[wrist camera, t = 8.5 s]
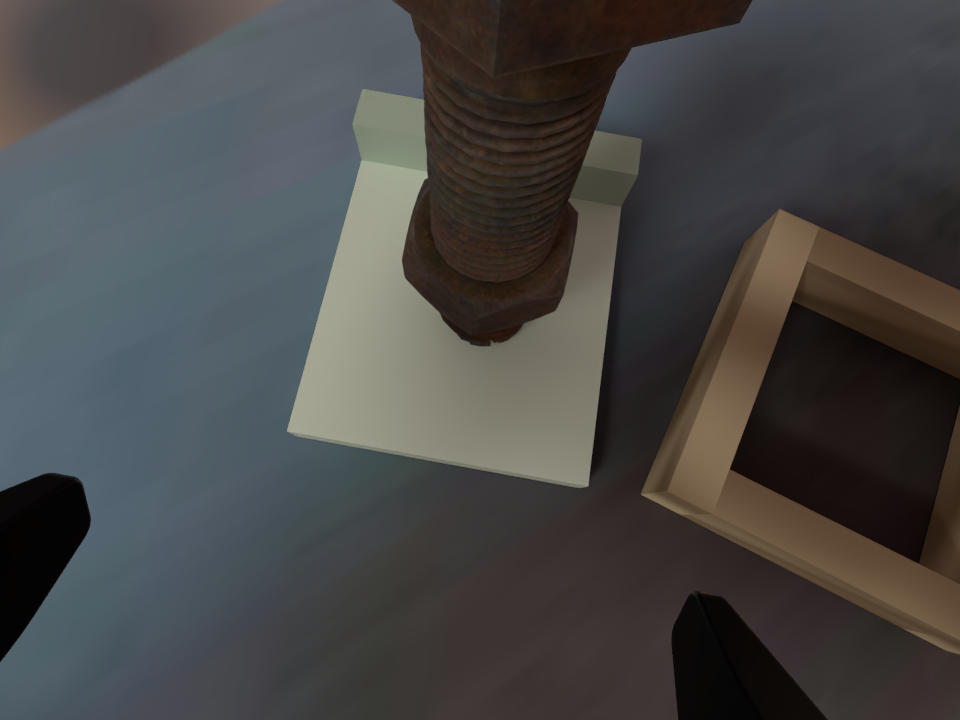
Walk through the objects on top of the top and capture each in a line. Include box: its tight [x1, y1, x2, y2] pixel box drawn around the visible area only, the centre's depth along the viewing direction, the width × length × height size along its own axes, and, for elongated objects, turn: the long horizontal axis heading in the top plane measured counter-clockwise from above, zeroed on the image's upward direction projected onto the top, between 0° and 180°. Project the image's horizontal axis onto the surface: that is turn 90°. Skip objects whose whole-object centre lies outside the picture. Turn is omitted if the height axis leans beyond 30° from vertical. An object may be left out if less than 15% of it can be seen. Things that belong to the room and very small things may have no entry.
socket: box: [641, 209, 960, 654], centre depth 19 cm, size 11×11×2 cm
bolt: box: [393, 0, 752, 347], centre depth 12 cm, size 6×5×15 cm
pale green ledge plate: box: [287, 89, 642, 488], centre depth 19 cm, size 12×10×3 cm
